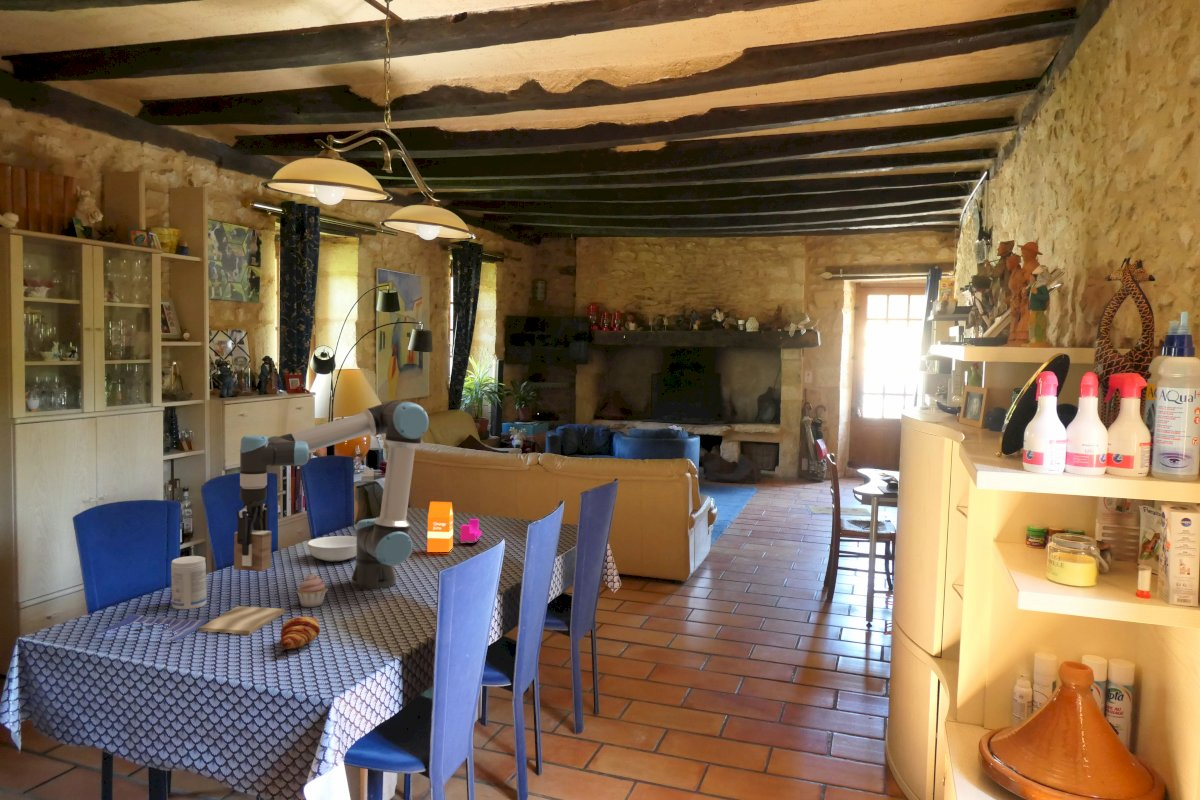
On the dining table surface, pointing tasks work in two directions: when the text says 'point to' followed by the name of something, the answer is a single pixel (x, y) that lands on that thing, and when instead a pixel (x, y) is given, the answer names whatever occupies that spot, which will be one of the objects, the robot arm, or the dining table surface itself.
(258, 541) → the wooden block
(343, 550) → the serving bowl
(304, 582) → the cupcake
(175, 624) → the dish towel
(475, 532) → the toy block
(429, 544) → the orange juice
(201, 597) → the supplement tub
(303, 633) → the croissant
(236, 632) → the board
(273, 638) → the dining table surface
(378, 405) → the robot arm
